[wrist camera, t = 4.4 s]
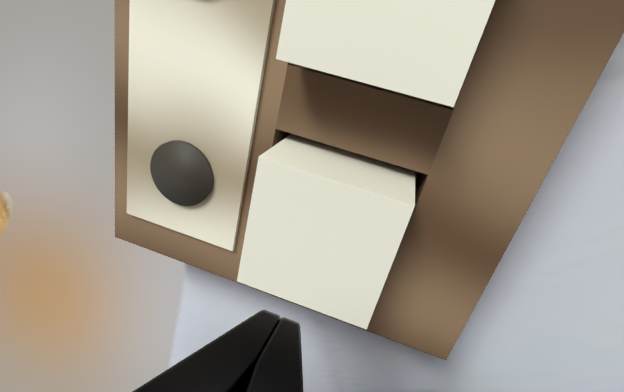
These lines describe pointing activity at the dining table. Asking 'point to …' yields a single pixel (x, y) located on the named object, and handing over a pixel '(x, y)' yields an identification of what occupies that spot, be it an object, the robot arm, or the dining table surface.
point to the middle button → (387, 42)
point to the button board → (347, 139)
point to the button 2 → (325, 227)
